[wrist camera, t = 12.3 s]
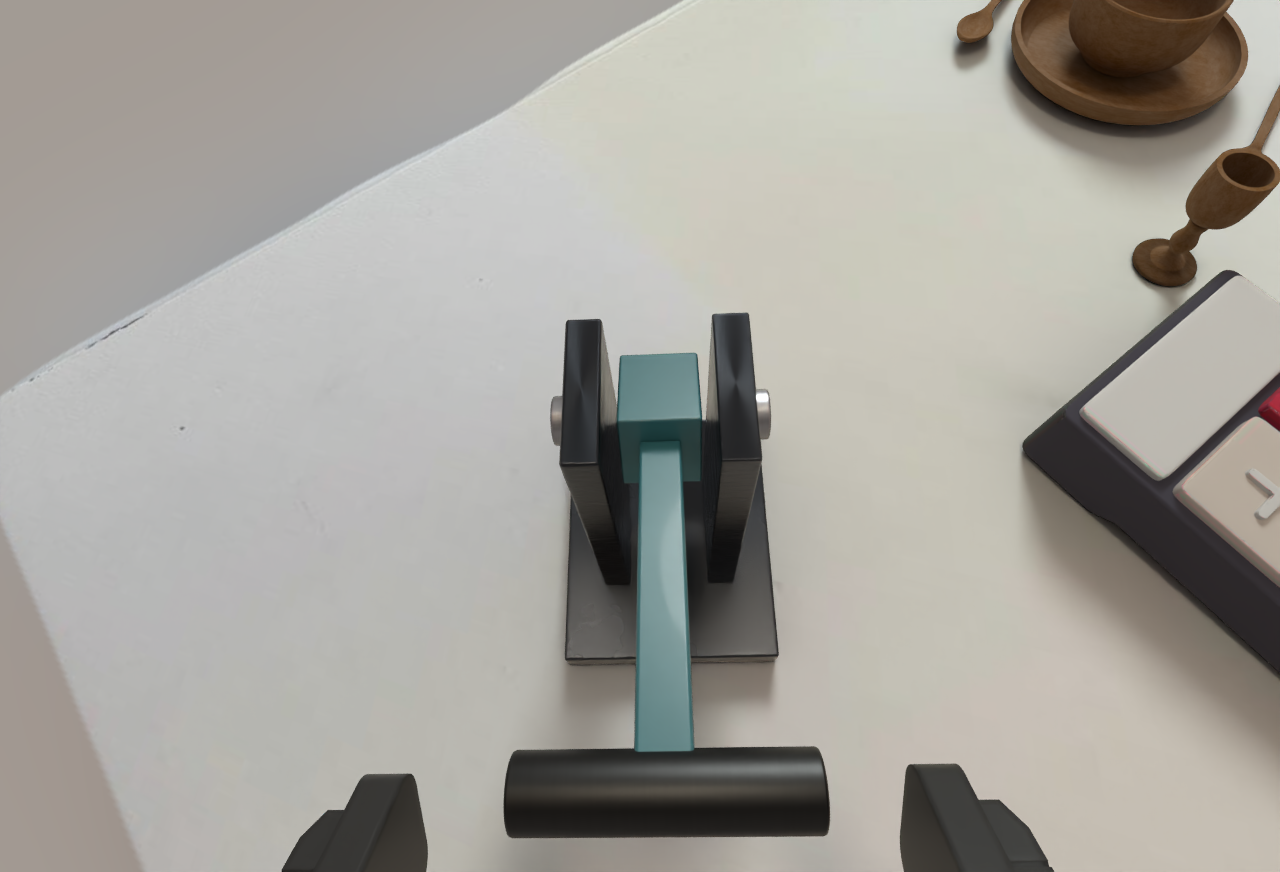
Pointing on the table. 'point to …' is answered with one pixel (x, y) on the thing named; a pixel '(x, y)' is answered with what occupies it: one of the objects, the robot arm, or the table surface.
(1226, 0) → the place setting
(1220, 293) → the calculator
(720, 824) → the lever
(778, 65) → the table surface
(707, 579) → the bracket
